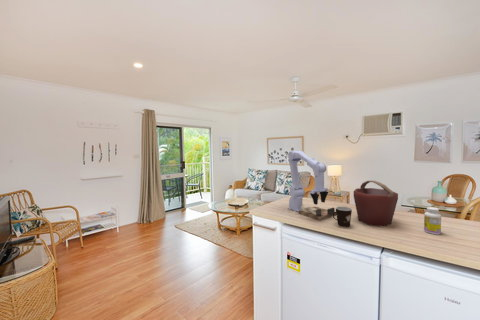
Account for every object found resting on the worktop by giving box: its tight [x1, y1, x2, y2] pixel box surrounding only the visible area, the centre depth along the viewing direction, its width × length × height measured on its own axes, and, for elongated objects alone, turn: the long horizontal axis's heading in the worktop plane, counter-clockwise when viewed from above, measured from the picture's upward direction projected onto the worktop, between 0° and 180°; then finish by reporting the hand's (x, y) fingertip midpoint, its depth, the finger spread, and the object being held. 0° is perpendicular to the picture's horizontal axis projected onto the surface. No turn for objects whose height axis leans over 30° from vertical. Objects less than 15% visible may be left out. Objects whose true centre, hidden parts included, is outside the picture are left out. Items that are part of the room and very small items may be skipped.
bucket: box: [353, 180, 399, 227], centre depth 130 cm, size 24×22×25 cm
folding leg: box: [301, 205, 317, 215], centre depth 145 cm, size 12×3×3 cm, turn 33°
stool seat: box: [297, 206, 337, 222], centre depth 147 cm, size 18×18×6 cm
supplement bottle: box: [423, 206, 442, 235], centre depth 112 cm, size 7×7×13 cm
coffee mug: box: [332, 206, 353, 228], centre depth 126 cm, size 12×9×10 cm
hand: (319, 203), depth 138 cm, fingers open, 7 cm apart
